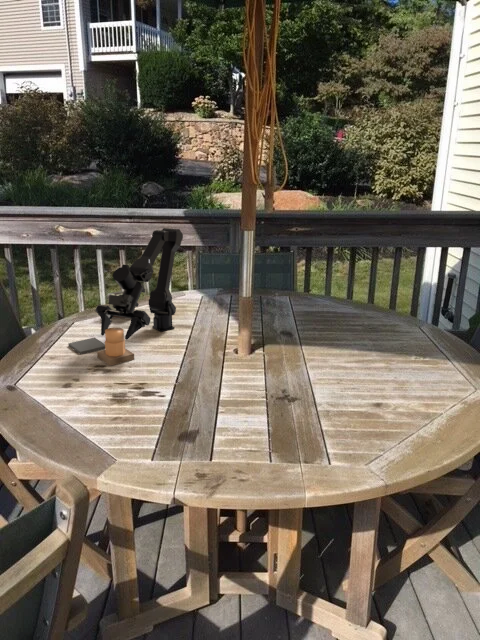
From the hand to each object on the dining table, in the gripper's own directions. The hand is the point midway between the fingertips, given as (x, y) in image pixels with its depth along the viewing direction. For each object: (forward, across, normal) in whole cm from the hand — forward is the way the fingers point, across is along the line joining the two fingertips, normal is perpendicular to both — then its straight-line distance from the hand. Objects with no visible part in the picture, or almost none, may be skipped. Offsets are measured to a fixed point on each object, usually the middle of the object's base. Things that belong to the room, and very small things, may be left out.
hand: (113, 337), depth 178 cm
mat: (+2, -15, +9) cm, 17 cm away
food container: (-23, -22, +34) cm, 46 cm away
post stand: (+5, 0, +6) cm, 8 cm away
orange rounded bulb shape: (+4, 0, +4) cm, 6 cm away
